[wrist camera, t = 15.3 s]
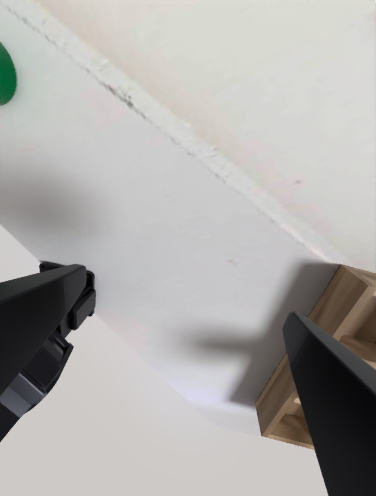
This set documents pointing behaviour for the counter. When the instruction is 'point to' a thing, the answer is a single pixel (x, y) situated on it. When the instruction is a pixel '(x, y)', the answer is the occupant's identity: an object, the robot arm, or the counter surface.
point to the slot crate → (339, 327)
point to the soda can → (7, 76)
